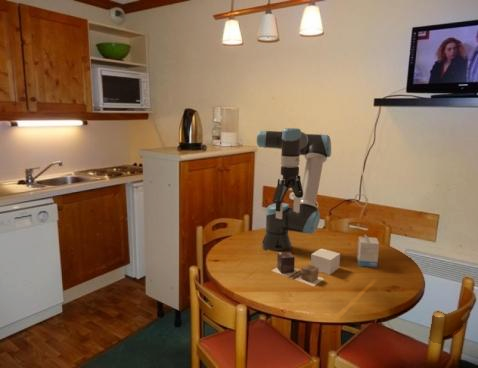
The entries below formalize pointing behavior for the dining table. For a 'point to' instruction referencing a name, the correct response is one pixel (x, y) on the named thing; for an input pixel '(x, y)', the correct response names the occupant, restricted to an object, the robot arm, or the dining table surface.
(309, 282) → the board
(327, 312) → the dining table surface
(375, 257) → the ink box
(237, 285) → the dining table surface
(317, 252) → the block
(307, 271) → the block
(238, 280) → the dining table surface
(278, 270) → the pad
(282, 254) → the box
